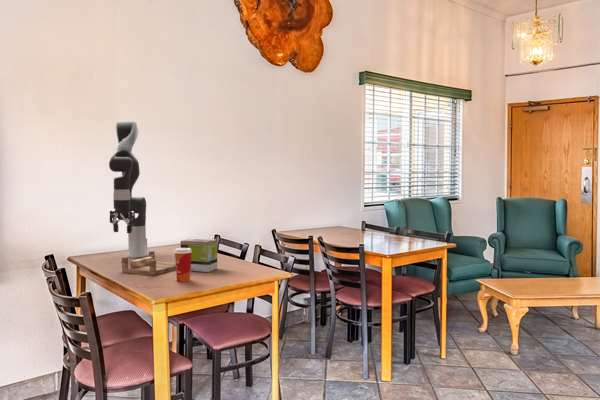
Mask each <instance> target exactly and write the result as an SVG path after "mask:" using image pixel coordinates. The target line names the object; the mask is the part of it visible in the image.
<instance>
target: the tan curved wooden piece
mask: <svg viewBox="0 0 600 400" xmlns="http://www.w3.org/2000/svg"><path fill="white" fill-rule="evenodd" d="M150 260H156V254H155V255H151V256H150V257H149V256H145V257H141V258H136V259H134V260H130V261H129V262H130V263H129V266H130V267H131V268H136V267H140V266H144V265H148V264H150Z"/></svg>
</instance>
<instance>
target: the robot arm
mask: <svg viewBox="0 0 600 400" xmlns="http://www.w3.org/2000/svg"><path fill="white" fill-rule="evenodd" d="M139 129H140V128H139V125H138V122H137V121H135V120H118V121H116V122H115V134H116V140H117V143H118V144H117V146H116V150H115V153H113V155H112V156H111V158H110V160H109V163H108V166H109V169H110V170H111V172H114V173H117V172H119V173H121V176H118V177H117V176H116V177H114V178H113V209H114V210H110V211H109V223H110V224H112V225H113V228H112V229H113V233H118V232H119V222H120V221H123V222H124V223H125V224H126V233H127V234H128V258H132V259H133V258H136V259H139V258H146V257H147V256H148V238H147V237H146V236H147V233H146V232H147V231H146V230H147V227H146V226H147V225H146V223H147V221H146V219H147V199H146V197H144V196H132V195H133V193H132V192H133V191H132V190H133V189H134V188H133V187H135V184H136V183H137V181H138V180H139V177H140V173H141V172H140V164H139V161H138V159H137V157H136V156H135V155H134V154H133V153H132V152H133V151H132V150H133V147H134V145H135V144H136V141H137V140H138V137H139V132H140V131H139ZM136 214H138V215H137V217H136Z"/></svg>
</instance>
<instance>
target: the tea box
mask: <svg viewBox="0 0 600 400" xmlns="http://www.w3.org/2000/svg"><path fill="white" fill-rule="evenodd" d="M180 248H186V249H187V248H191V251H192V252H191V272H203V273H210V272H212V271H215V270H217V269H218V239H215V238H194V237H193V238H192V237H191V238H187V239H182V240H180Z"/></svg>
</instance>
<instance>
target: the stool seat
mask: <svg viewBox="0 0 600 400" xmlns="http://www.w3.org/2000/svg"><path fill="white" fill-rule="evenodd" d="M151 255H155V256H156V254H155V251H154V250H151V251H149V250H148V257H150V256H151ZM172 271H173V272H174V271H176V262H166V261H157V260H156V259H155V260H150V264H148V265H144V266H140V267H136V268H131V267H130V265H129V256H122V257H121V273H125V274H126V273H127V274H133V275H142V276H149V277H150V276H151V277H155V276H159V275H162V274H166V273H169V272H172Z"/></svg>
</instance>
